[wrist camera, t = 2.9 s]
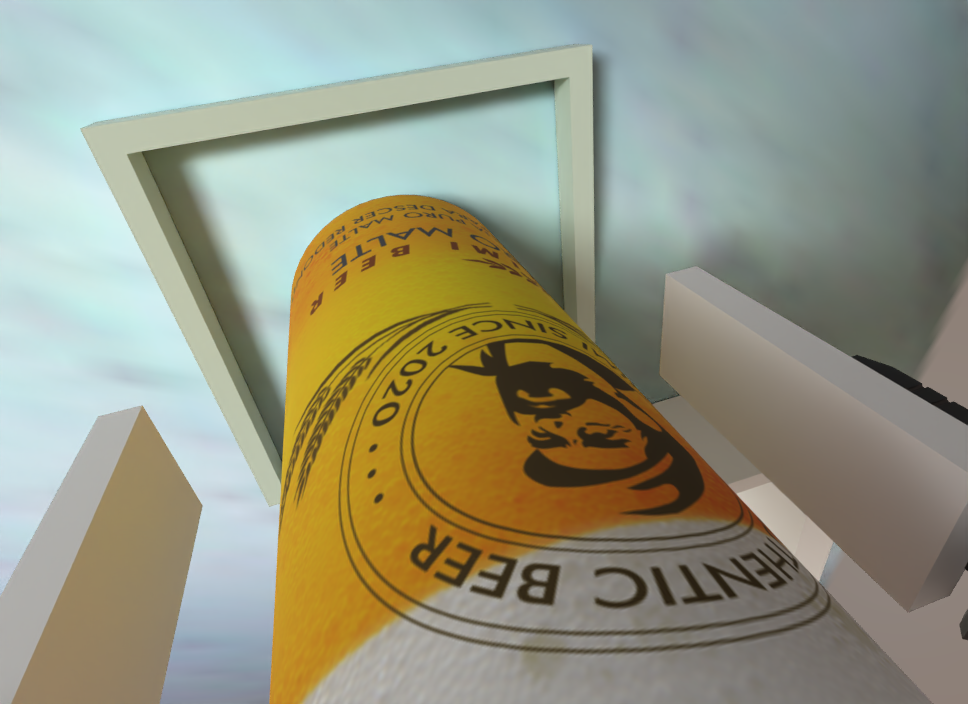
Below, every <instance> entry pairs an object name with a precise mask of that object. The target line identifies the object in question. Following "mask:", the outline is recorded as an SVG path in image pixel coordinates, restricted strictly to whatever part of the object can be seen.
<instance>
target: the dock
mask: <svg viewBox="0 0 968 704" xmlns="http://www.w3.org/2000/svg"><path fill="white" fill-rule="evenodd" d="M652 405H653V406H654V407H655V408H656V409H657V410H658V411H659V412H660V413H661V414H662V415H663V417H664V418H665V419H666V420H667V421H668V422H669V423H670V424H671V425H672V426H673V427H674V428H675V429H676V430H677V431H678V433H679V434H680V435H681V436H682V437H683V438H684V439H685V440H686V441H687V442H688V443H689V444H690V445H691V446H692V447H693V448H694V450H695V451H696V452H697V453H698V454H699V455H700V456H701V457H702V458H703V459H704V460H705V461H706V462H707V463H708V464H709V466H710V467H711V468H712V469H713V470H714V471H715V472H716V473H717V474H718V475H719V476H720V477H721V478H722V479H723V480H724V481H725V483H726V484H727V485H728V486H729V487H730V488H731V489H732V490H733V491H734V492H735V493H736V494H737V495H738V496H739V497H740V499H741V500H742V501H743V502H744V503H745V504H746V505H747V506H748V507H749V508H750V509H751V510H752V511H753V512H754V513H755V514H756V516H757V517H758V518H759V519H760V520H761V521H762V522H763V523H764V524H765V525H766V526H767V527H768V528H769V529H770V530H771V532H772V533H773V534H774V535H775V536H776V537H777V538H778V539H779V540H780V541H781V542H782V543H783V544H784V545H785V546H786V547H787V549H788V550H789V551H790V552H791V553H792V554H793V555H794V556H795V557H796V558H797V559H798V560H799V561H800V562H801V563H802V565H803V566H804V567H805V568H806V569H807V570H808V571H809V572H810V573H811V574H812V575H813V576H814V577H815V578H816V579H817V580H818V582H819V580H820V577H821V575H822V572H823V569H824V566H825V564H826V561H827V558H828V555H829V553H830V550H831V547H832V544H833V540H831V539H830V538H829V537H828V536H827V535H826V534H825V533H824V532H823V531H822V530H821V529H820V528H819V527H818V526H817V525H816V524H815V523H814V522H813V521H812V520H811V519H810V518H808V517H807V516H806V515H805V514H804V513H803V512H802V511H801V510H800V509H799V508H798V507H797V506H796V505H795V504H794V503H793V502H792V501H791V500H790V499H789V498H788V497H787V496H785V495H784V494H783V493H782V492H781V491H780V490H779V489H778V488H777V487H776V486H775V485H774V484H773V483H772V482H771V481H770V480H769V479H768V478H767V477H766V476H765V475H764V474H762V473H761V472H760V471H759V470H758V469H757V468H756V467H755V466H754V465H753V464H752V463H751V462H750V461H749V460H748V459H747V458H746V457H745V456H744V455H743V454H742V453H741V452H739V451H738V450H737V449H736V448H735V447H734V446H733V445H732V444H731V443H730V442H729V441H728V440H727V439H726V438H725V437H724V436H723V435H722V434H721V433H720V432H719V431H718V430H716V429H715V428H714V427H713V426H712V425H711V424H710V423H709V422H708V421H707V420H706V419H705V418H704V417H703V416H702V415H701V414H700V413H699V412H698V411H697V410H696V409H695V408H693V407H692V406H691V405H690V404H689V403H688V402H687V401H686V400H685V399H684V398H683V397H682V396H681V395H680V396H677V397H673V398H670V399H667V400H663V401H660V402H657V403H653V404H652Z"/></svg>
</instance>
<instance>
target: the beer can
mask: <svg viewBox="0 0 968 704" xmlns="http://www.w3.org/2000/svg"><path fill="white" fill-rule="evenodd" d="M270 704H933V703H932V702H931V701H930V700H929V699H928V698H927V697H926V696H925V694H924V693H923V692H922V691H921V690H920V689H919V688H918V687H917V686H916V685H915V684H914V683H913V682H912V681H911V679H910V678H909V677H908V676H907V675H906V674H905V673H904V672H903V671H902V670H901V669H900V668H899V667H898V666H897V665H896V663H894V662H893V660H892V659H891V658H890V657H889V656H888V655H887V654H886V653H885V652H884V651H883V650H882V649H881V648H880V647H879V645H878V644H877V643H876V642H875V641H874V640H873V639H872V638H871V637H870V636H869V635H868V634H867V633H866V632H865V631H864V630H863V628H862V627H861V626H860V625H859V624H858V623H857V622H856V621H855V620H854V619H853V618H852V617H851V616H850V615H849V613H847V611H846V610H845V609H844V608H843V607H842V606H841V605H840V604H839V603H838V602H837V601H836V600H835V599H834V598H833V596H832V595H831V594H830V593H829V592H828V591H827V590H826V589H825V588H824V587H823V586H822V585H821V584H820V583H819V582H818V580H817V579H816V578H815V577H814V576H813V575H812V574H811V573H810V572H809V571H808V570H807V569H806V568H805V567H804V566H803V565H802V563H801V562H800V561H799V560H798V559H797V558H796V557H795V556H794V555H793V554H792V553H791V552H790V551H789V550H788V549H787V547H786V546H785V545H784V544H783V543H782V542H781V541H780V540H779V539H778V538H777V537H776V536H775V535H774V534H773V533H772V532H771V530H770V529H769V528H768V527H767V526H766V525H765V524H764V523H763V522H762V521H761V520H760V519H759V518H758V517H757V516H756V514H755V513H754V512H753V511H752V510H751V509H750V508H749V507H748V506H747V505H746V504H745V503H744V502H743V501H742V500H741V499H740V497H739V496H738V495H737V494H736V493H735V492H734V491H733V490H732V489H731V488H730V487H729V486H728V485H727V484H726V483H725V481H724V480H723V479H722V478H721V477H720V476H719V475H718V474H717V473H716V472H715V471H714V470H713V469H712V468H711V467H710V466H709V464H708V463H707V462H706V461H705V460H704V459H703V458H702V457H701V456H700V455H699V454H698V453H697V452H696V451H695V450H694V448H693V447H692V446H691V445H690V444H689V443H688V442H687V441H686V440H685V439H684V438H683V437H682V436H681V435H680V434H679V433H678V431H677V430H676V429H675V428H674V427H673V426H672V425H671V424H670V423H669V422H668V421H667V420H666V419H665V418H664V417H663V415H662V414H661V413H660V412H659V411H658V410H657V409H656V408H655V407H654V406H653V405H652V404H651V403H650V402H649V401H648V400H647V398H646V397H645V396H644V395H643V394H642V393H641V392H640V391H639V390H638V389H637V388H636V387H635V386H634V385H633V384H632V383H631V381H630V380H629V379H628V378H627V377H626V376H625V375H624V374H623V373H622V372H621V371H620V370H619V369H618V368H617V367H616V365H615V364H614V363H613V362H612V361H611V360H610V359H609V358H608V357H607V356H606V355H605V354H604V353H603V352H602V351H601V350H600V348H599V347H598V346H597V345H596V344H595V343H594V342H593V341H592V340H591V339H590V338H589V337H588V336H587V335H586V334H585V332H584V331H583V330H582V329H581V328H580V327H579V326H578V325H577V324H576V323H575V322H574V321H573V320H572V319H571V318H570V317H569V315H568V314H567V313H566V312H565V311H564V310H563V309H562V308H561V307H560V306H559V305H558V304H557V303H556V302H555V301H554V299H553V298H552V297H551V296H550V295H549V294H548V293H547V292H546V291H545V290H544V289H543V288H542V287H541V286H540V285H539V284H538V282H537V281H536V280H535V279H534V278H533V277H532V276H531V275H530V274H529V273H528V272H527V271H526V270H525V269H524V268H523V266H522V265H521V264H520V263H519V262H518V261H517V260H516V259H515V258H514V257H513V256H512V255H511V254H510V253H509V252H508V251H507V249H506V248H505V247H504V246H503V245H502V244H501V243H500V242H499V241H498V240H497V239H496V238H495V237H494V236H493V235H492V233H491V232H490V231H489V230H488V229H487V228H486V227H485V226H484V225H483V224H482V223H481V222H479V221H478V220H477V219H476V218H475V217H473V216H472V215H471V214H469V213H468V212H466V211H465V210H463V209H461V208H459V207H457V206H455V205H453V204H451V203H448V202H446V201H443V200H439V199H436V198H432V197H427V196H419V195H395V196H386V197H382V198H377V199H373V200H370V201H367V202H364V203H362V204H359V205H357V206H355V207H353V208H351V209H349V210H347V211H345V212H344V213H342V214H341V215H339V216H338V217H336V218H335V219H333V220H332V221H331V222H330V223H329V224H327V225H326V226H325V227H324V228H323V229H322V230H321V231H320V232H319V233H318V234H317V235H316V236H315V237H314V239H313V240H312V242H311V243H310V244H309V246H308V247H307V249H306V250H305V252H304V254H303V256H302V258H301V260H300V262H299V264H298V267H297V270H296V272H295V276H294V280H293V284H292V293H291V307H290V326H289V345H288V364H287V383H286V402H285V421H284V440H283V458H282V477H281V496H280V515H279V534H278V553H277V572H276V591H275V609H274V628H273V647H272V666H271V685H270Z"/></svg>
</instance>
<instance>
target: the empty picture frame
mask: <svg viewBox="0 0 968 704" xmlns="http://www.w3.org/2000/svg"><path fill="white" fill-rule="evenodd" d="M549 80H554V93H555V115H556V136H557V158H558V180H559V202H560V223H561V245H562V267H563V289H564V311H565V312H566V313H567V314H568V315H569V317H570V318H571V319H572V320H573V321H574V322H575V323H576V324H577V325H578V326H579V327H580V328H581V329H582V330H583V331H584V332H585V334H586V335H587V336H588V337H589V338H590V339H591V340H592V341H593V342H594V343H595V260H594V167H593V73H592V45H586V44H572V45H566V46H560V47H554V48H548V49H541V50H535V51H529V52H523V53H517V54H511V55H505V56H498V57H492V58H486V59H480V60H474V61H468V62H462V63H456V64H449V65H443V66H437V67H431V68H425V69H419V70H413V71H406V72H400V73H394V74H388V75H382V76H376V77H370V78H363V79H357V80H351V81H345V82H339V83H333V84H327V85H321V86H314V87H308V88H302V89H296V90H290V91H284V92H278V93H271V94H265V95H259V96H253V97H247V98H241V99H235V100H228V101H222V102H216V103H210V104H204V105H198V106H192V107H186V108H179V109H173V110H167V111H161V112H155V113H149V114H143V115H136V116H130V117H124V118H118V119H112V120H106V121H100V122H95V123H93V124H90V125H88V126H86V127H83V128H81V129H80V130H81V132H82V134H83V136H84V138H85V140H86V142H87V144H88V146H89V148H90V150H91V152H92V154H93V156H94V158H95V160H96V162H97V164H98V166H99V168H100V170H101V171H102V173H103V175H104V177H105V179H106V181H107V183H108V185H109V187H110V189H111V191H112V193H113V195H114V197H115V199H116V201H117V203H118V205H119V207H120V209H121V211H122V213H123V215H124V217H125V219H126V221H127V223H128V225H129V227H130V229H131V231H132V233H133V235H134V237H135V239H136V241H137V243H138V245H139V247H140V249H141V251H142V253H143V255H144V257H145V259H146V261H147V263H148V265H149V267H150V269H151V271H152V273H153V275H154V277H155V279H156V281H157V283H158V285H159V287H160V289H161V291H162V293H163V295H164V297H165V299H166V301H167V303H168V305H169V307H170V309H171V311H172V313H173V315H174V317H175V319H176V321H177V323H178V325H179V327H180V329H181V331H182V333H183V335H184V337H185V339H186V341H187V343H188V345H189V347H190V349H191V351H192V353H193V355H194V357H195V359H196V361H197V363H198V365H199V367H200V369H201V371H202V373H203V375H204V377H205V379H206V381H207V383H208V385H209V387H210V389H211V391H212V393H213V395H214V397H215V399H216V401H217V403H218V405H219V407H220V409H221V411H222V413H223V415H224V417H225V419H226V421H227V423H228V425H229V427H230V429H231V431H232V433H233V435H234V437H235V439H236V441H237V443H238V445H239V447H240V449H241V451H242V453H243V455H244V457H245V459H246V461H247V463H248V465H249V467H250V469H251V471H252V473H253V475H254V477H255V479H256V481H257V483H258V485H259V487H260V489H261V491H262V493H263V495H264V497H265V499H266V501H267V503H268V505H269V507H270V506H273V505H277V504H280V496H281V477H282V461H281V459H280V457H279V455H278V453H277V450H276V448H275V446H274V444H273V442H272V439H271V437H270V435H269V433H268V430H267V428H266V426H265V424H264V422H263V419H262V417H261V415H260V413H259V411H258V408H257V406H256V404H255V402H254V400H253V397H252V395H251V393H250V391H249V388H248V386H247V384H246V382H245V380H244V377H243V375H242V373H241V371H240V369H239V366H238V364H237V362H236V360H235V357H234V355H233V353H232V351H231V349H230V346H229V344H228V342H227V340H226V338H225V335H224V333H223V331H222V329H221V327H220V324H219V322H218V320H217V318H216V315H215V313H214V311H213V309H212V307H211V304H210V302H209V300H208V298H207V296H206V293H205V291H204V289H203V287H202V284H201V282H200V280H199V278H198V276H197V273H196V271H195V269H194V267H193V265H192V262H191V260H190V258H189V256H188V254H187V251H186V249H185V247H184V245H183V242H182V240H181V238H180V236H179V234H178V231H177V229H176V227H175V225H174V223H173V220H172V218H171V216H170V214H169V211H168V209H167V207H166V205H165V203H164V200H163V198H162V196H161V194H160V192H159V189H158V187H157V185H156V183H155V181H154V178H153V176H152V174H151V172H150V169H149V167H148V165H147V163H146V161H145V158H144V156H143V154H142V151H147V150H153V149H159V148H165V147H170V146H176V145H182V144H187V143H193V142H199V141H205V140H210V139H216V138H222V137H228V136H233V135H239V134H245V133H251V132H256V131H262V130H268V129H274V128H279V127H285V126H291V125H297V124H302V123H308V122H314V121H320V120H325V119H331V118H337V117H343V116H348V115H354V114H360V113H365V112H371V111H377V110H383V109H388V108H394V107H400V106H406V105H411V104H417V103H423V102H429V101H434V100H440V99H446V98H452V97H457V96H463V95H469V94H475V93H480V92H486V91H492V90H498V89H503V88H509V87H515V86H521V85H526V84H532V83H538V82H543V81H549Z"/></svg>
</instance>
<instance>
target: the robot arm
mask: <svg viewBox="0 0 968 704" xmlns="http://www.w3.org/2000/svg"><path fill="white" fill-rule="evenodd" d="M659 375H660V376H661V377H662V378H663V379H664V380H665V381H666V382H667V383H668V384H669V385H670V386H672V387H673V388H674V389H675V390H676V391H677V392H678V393H679V394H680V395H681V396H682V397H683V398H684V399H685V400H686V401H687V402H688V403H689V404H690V405H691V406H692V407H693V408H695V409H696V410H697V411H698V412H699V413H700V414H701V415H702V416H703V417H704V418H705V419H706V420H707V421H708V422H709V423H710V424H711V425H712V426H713V427H714V428H715V429H716V430H718V431H719V432H720V433H721V434H722V435H723V436H724V437H725V438H726V439H727V440H728V441H729V442H730V443H731V444H732V445H733V446H734V447H735V448H736V449H737V450H738V451H739V452H741V453H742V454H743V455H744V456H745V457H746V458H747V459H748V460H749V461H750V462H751V463H752V464H753V465H754V466H755V467H756V468H757V469H758V470H759V471H760V472H761V473H762V474H764V475H765V476H766V477H767V478H768V479H769V480H770V481H771V482H772V483H773V484H774V485H775V486H776V487H777V488H778V489H779V490H780V491H781V492H782V493H783V494H784V495H785V496H787V497H788V498H789V499H790V500H791V501H792V502H793V503H794V504H795V505H796V506H797V507H798V508H799V509H800V510H801V511H802V512H803V513H804V514H805V515H806V516H807V517H808V518H810V519H811V520H812V521H813V522H814V523H815V524H816V525H817V526H818V527H819V528H820V529H821V530H822V531H823V532H824V533H825V534H826V535H827V536H828V537H829V538H830V539H831V540H833V541H834V542H835V543H836V544H837V545H838V546H839V547H840V548H841V549H842V550H843V551H844V552H845V553H846V554H847V555H848V556H849V557H850V558H852V559H853V561H854V562H856V563H857V564H858V565H859V566H860V567H861V568H862V569H863V570H864V571H865V572H866V573H867V574H868V575H869V576H870V577H871V578H872V579H873V580H874V581H875V582H876V583H878V584H879V585H880V586H881V587H882V588H883V589H884V590H885V591H886V592H887V593H888V594H889V595H890V596H891V597H892V598H893V599H894V600H895V601H896V602H897V603H899V605H900V606H902V607H903V608H904V609H905V610H906V611H907V612H911V611H913V610H915V609H918V608H920V607H923V606H925V605H928V604H930V603H933V602H935V601H937V600H940V599H942V598H945V597H947V596H950V594H951V593H952V591H953V589H954V588H955V586H956V584H957V582H958V581H959V579H960V577H961V576H962V574H963V572H964V571H965V569H966V570H967V571H968V409H966V408H964V407H963V406H961V405H959V404H957V403H956V402H951V403H950V402H948V400H947V397H945V396H943V395H941V394H940V393H938V392H936V391H934V390H932V389H931V388H929V387H927V388H924V387H923V386H922V383H920V382H918V381H916V380H915V379H913V378H911V377H909V376H908V375H906V374H904V373H902V372H900V371H899V370H897V369H895V368H893V367H891V366H888V365H885V364H882V363H879V362H876V361H873V360H870V359H867V358H864V357H861V356H858V355H856V356H852V357H850V356H848V355H847V354H845V353H843V352H842V351H840V350H838V349H837V348H835V347H833V346H831V345H830V344H828V343H826V342H825V341H823V340H821V339H820V338H818V337H816V336H814V335H813V334H811V333H809V332H808V331H806V330H804V329H803V328H801V327H799V326H797V325H796V324H794V323H792V322H791V321H789V320H787V319H786V318H784V317H782V316H780V315H779V314H777V313H775V312H774V311H772V310H770V309H769V308H767V307H765V306H763V305H762V304H760V303H758V302H757V301H755V300H753V299H752V298H750V297H748V296H746V295H745V294H743V293H741V292H740V291H738V290H736V289H735V288H733V287H731V286H729V285H728V284H726V283H724V282H723V281H721V280H719V279H718V278H716V277H714V276H712V275H711V274H709V273H707V272H706V271H704V270H702V269H701V268H699V267H697V266H695V267H691V268H687V269H683V270H679V271H675V272H671V273H667V274H666V280H665V294H664V309H663V324H662V339H661V353H660V368H659ZM201 510H202V504H201V502H200V501H199V499H198V497H197V496H196V494H195V492H194V491H193V489H192V487H191V486H190V484H189V482H188V481H187V479H186V477H185V476H184V474H183V472H182V471H181V469H180V467H179V466H178V464H177V462H176V461H175V459H174V457H173V456H172V454H171V452H170V451H169V449H168V447H167V446H166V444H165V442H164V441H163V439H162V437H161V436H160V434H159V432H158V431H157V429H156V427H155V426H154V424H153V422H152V421H151V419H150V417H149V416H148V414H147V412H146V411H145V409H144V407H143V406H138V407H134V408H130V409H126V410H122V411H118V412H114V413H110V414H106V415H102V416H98V418H97V420H96V421H95V423H94V425H93V427H92V429H91V431H90V432H89V434H88V436H87V438H86V440H85V442H84V443H83V445H82V447H81V449H80V451H79V453H78V454H77V456H76V458H75V460H74V462H73V464H72V466H71V467H70V469H69V471H68V473H67V475H66V477H65V478H64V480H63V482H62V484H61V486H60V488H59V489H58V491H57V493H56V495H55V497H54V499H53V500H52V502H51V504H50V506H49V508H48V510H47V512H46V513H45V515H44V517H43V519H42V521H41V523H40V524H39V526H38V528H37V530H36V532H35V534H34V535H33V537H32V539H31V541H30V543H29V545H28V546H27V548H26V550H25V552H24V554H23V556H22V558H21V559H20V561H19V563H18V565H17V567H16V569H15V570H14V572H13V574H12V576H11V578H10V580H9V581H8V583H7V585H6V587H5V589H4V591H3V592H2V594H1V596H0V704H159V703H160V698H161V694H162V689H163V684H164V680H165V675H166V671H167V666H168V661H169V657H170V652H171V648H172V643H173V639H174V634H175V629H176V625H177V620H178V616H179V611H180V606H181V602H182V597H183V593H184V588H185V584H186V579H187V574H188V570H189V565H190V561H191V556H192V552H193V547H194V542H195V538H196V533H197V529H198V524H199V519H200V515H201ZM960 629H961V634H962V639H966V640H968V610H967V611H966V613H965V614H964V616H963V618H962V621H961V623H960Z"/></svg>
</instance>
